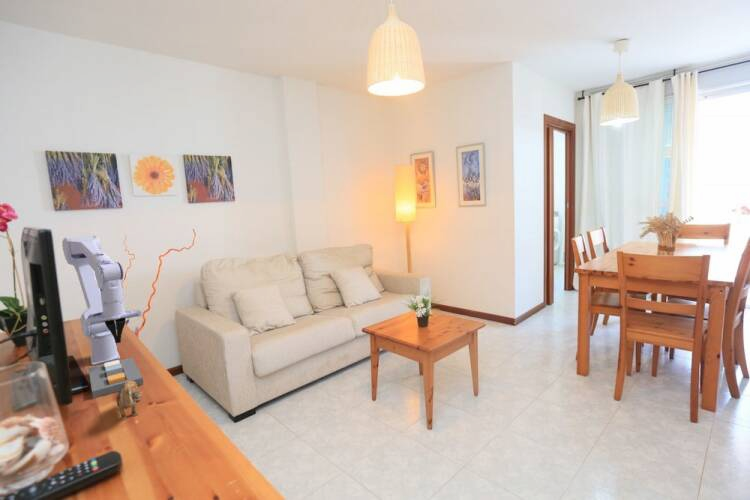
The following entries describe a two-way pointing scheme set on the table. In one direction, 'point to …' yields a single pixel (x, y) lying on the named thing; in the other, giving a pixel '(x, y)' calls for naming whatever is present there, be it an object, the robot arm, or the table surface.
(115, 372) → the slate-blue button
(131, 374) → the button board
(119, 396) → the lion figurine
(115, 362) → the cream button
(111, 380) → the orange button
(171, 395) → the table surface
